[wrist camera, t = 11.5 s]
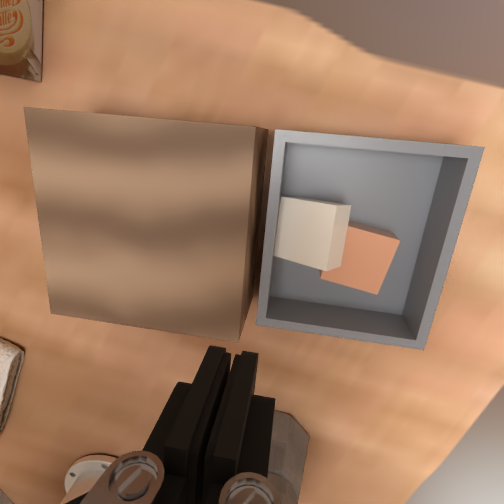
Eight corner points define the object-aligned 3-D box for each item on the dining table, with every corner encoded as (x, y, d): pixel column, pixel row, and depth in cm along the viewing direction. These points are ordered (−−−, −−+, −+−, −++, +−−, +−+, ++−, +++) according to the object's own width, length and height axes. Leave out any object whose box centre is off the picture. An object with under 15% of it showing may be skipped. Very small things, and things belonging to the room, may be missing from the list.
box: (406, 319, 32) (423, 350, 28) (262, 299, 34) (255, 324, 29) (453, 145, 27) (484, 147, 22) (279, 130, 28) (275, 129, 24)
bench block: (252, 297, 34) (238, 342, 26) (104, 276, 36) (51, 313, 28) (268, 129, 29) (255, 126, 21) (92, 114, 30) (23, 106, 23)
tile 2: (273, 255, 29) (290, 252, 30) (325, 271, 25) (340, 266, 27) (280, 196, 27) (297, 196, 29) (336, 205, 24) (351, 205, 26)
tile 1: (320, 278, 29) (318, 267, 31) (377, 294, 28) (371, 282, 31) (339, 223, 27) (336, 216, 29) (400, 240, 27) (392, 232, 29)
